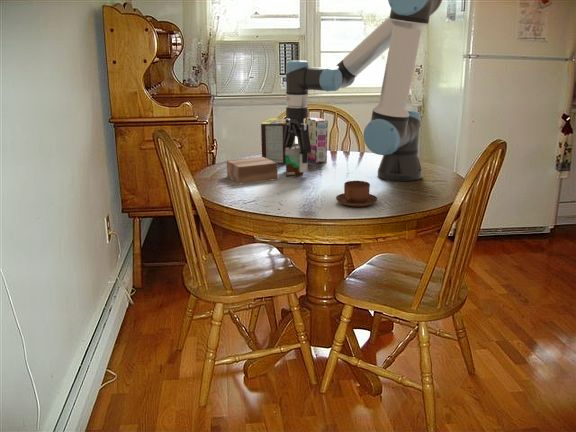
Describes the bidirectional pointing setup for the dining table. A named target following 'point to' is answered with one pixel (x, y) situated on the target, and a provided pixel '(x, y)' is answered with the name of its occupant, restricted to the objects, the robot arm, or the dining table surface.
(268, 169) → the walnut block
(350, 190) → the cup and saucer
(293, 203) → the dining table surface
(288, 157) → the food container
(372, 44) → the robot arm
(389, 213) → the dining table surface
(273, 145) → the protein box
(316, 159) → the candy bar box
